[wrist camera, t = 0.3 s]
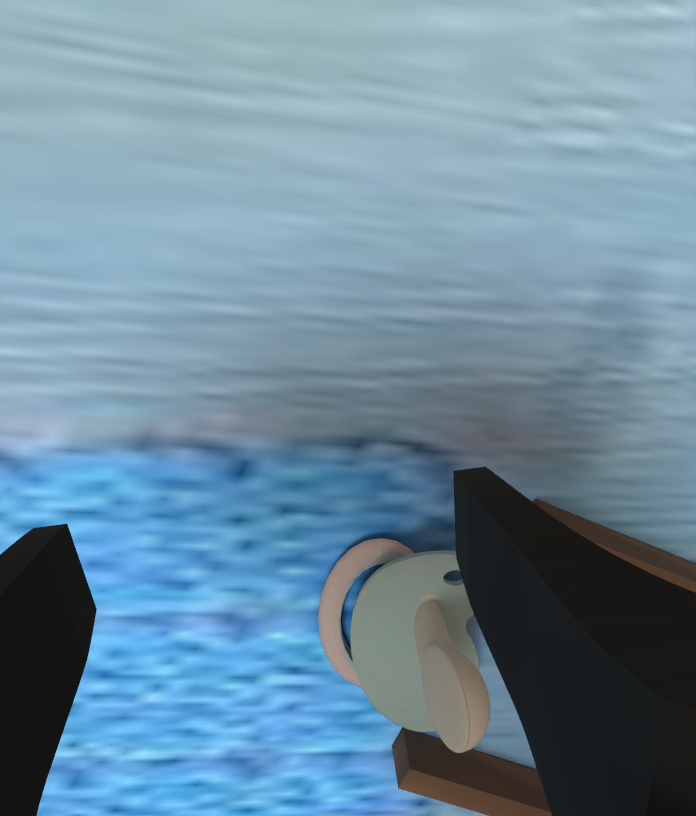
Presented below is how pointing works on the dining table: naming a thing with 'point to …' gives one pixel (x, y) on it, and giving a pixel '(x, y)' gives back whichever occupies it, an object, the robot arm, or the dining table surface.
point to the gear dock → (493, 777)
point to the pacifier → (408, 640)
